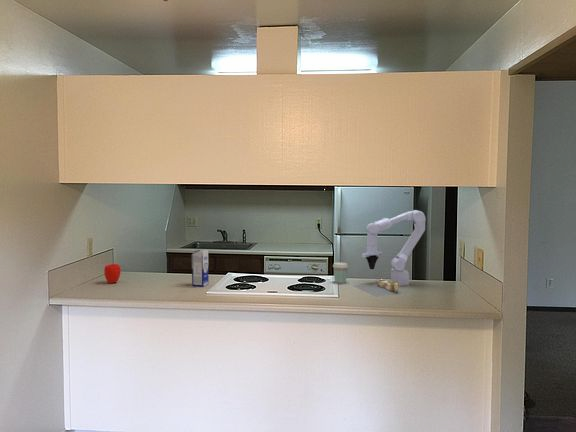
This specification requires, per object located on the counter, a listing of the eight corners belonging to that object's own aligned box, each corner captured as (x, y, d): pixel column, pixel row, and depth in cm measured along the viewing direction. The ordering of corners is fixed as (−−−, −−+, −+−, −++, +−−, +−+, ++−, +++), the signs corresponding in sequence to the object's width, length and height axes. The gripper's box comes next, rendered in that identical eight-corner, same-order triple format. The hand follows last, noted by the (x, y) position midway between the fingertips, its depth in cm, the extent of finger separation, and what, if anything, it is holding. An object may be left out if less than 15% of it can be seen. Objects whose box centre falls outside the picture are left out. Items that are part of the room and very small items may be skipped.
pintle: (382, 279, 247) (382, 278, 247) (384, 280, 246) (384, 279, 245) (379, 279, 247) (379, 278, 247) (380, 280, 245) (381, 279, 245)
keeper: (388, 290, 236) (388, 280, 236) (392, 290, 237) (393, 280, 236) (394, 293, 230) (395, 283, 229) (399, 293, 230) (399, 283, 230)
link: (375, 285, 248) (376, 279, 248) (382, 284, 249) (383, 279, 249) (391, 291, 233) (391, 285, 233) (398, 290, 234) (398, 285, 234)
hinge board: (380, 285, 253) (380, 283, 253) (406, 295, 230) (406, 293, 230) (352, 287, 247) (352, 285, 247) (376, 298, 224) (376, 296, 224)
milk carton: (203, 287, 247) (202, 251, 246) (192, 286, 249) (191, 250, 248) (208, 284, 254) (208, 249, 253) (197, 283, 256) (197, 248, 255)
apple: (119, 284, 254) (119, 265, 253) (103, 284, 252) (102, 265, 251) (121, 280, 263) (121, 262, 262) (106, 281, 261) (105, 263, 260)
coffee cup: (350, 285, 253) (350, 264, 252) (336, 286, 250) (336, 265, 249) (343, 282, 261) (344, 261, 260) (330, 283, 258) (330, 262, 257)
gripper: (375, 243, 258) (375, 266, 259) (357, 245, 249) (357, 269, 250) (385, 244, 253) (384, 268, 254) (367, 246, 244) (367, 271, 245)
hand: (371, 269), depth 252 cm, fingers closed
